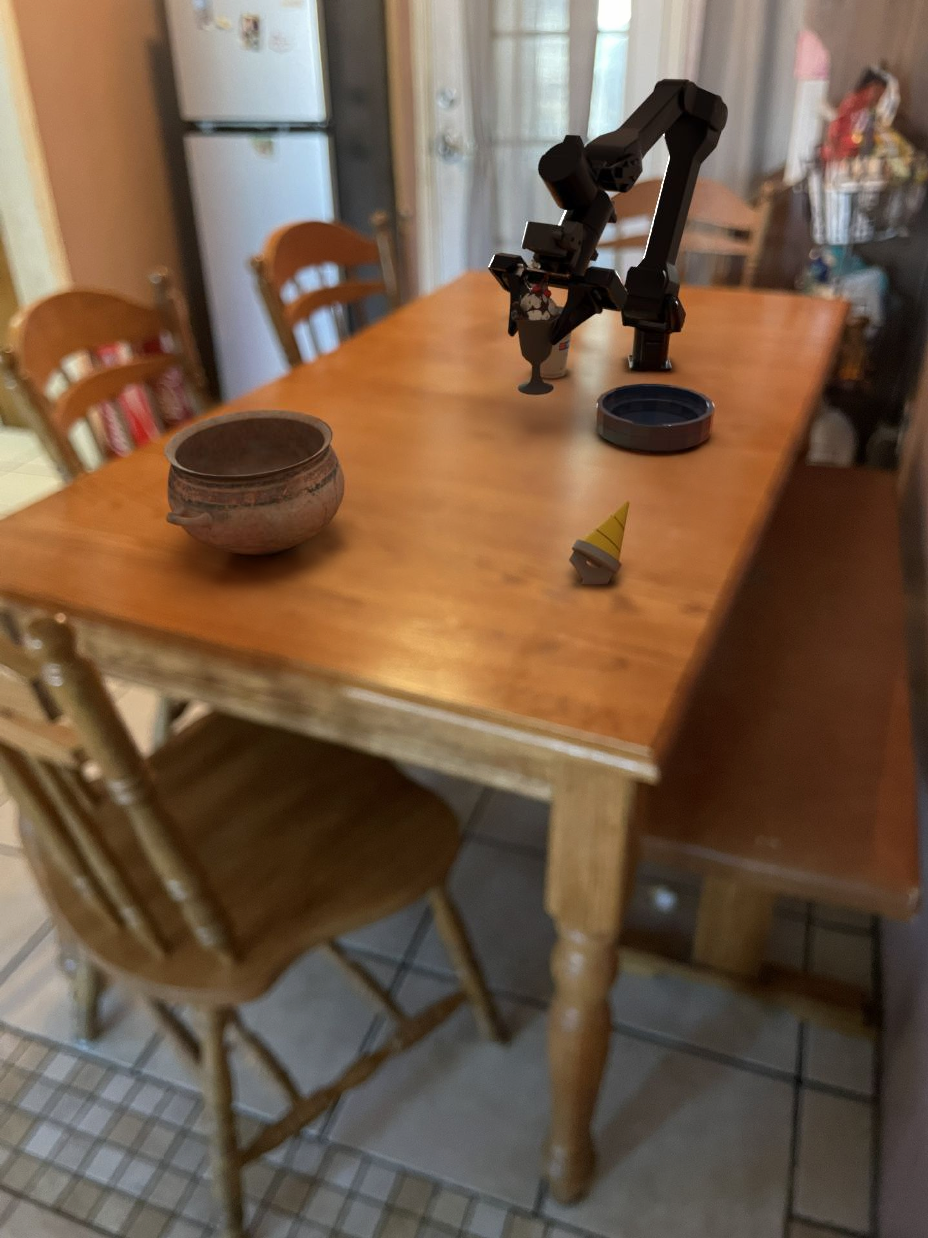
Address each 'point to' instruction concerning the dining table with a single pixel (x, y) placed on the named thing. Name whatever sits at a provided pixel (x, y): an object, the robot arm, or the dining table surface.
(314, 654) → the dining table surface
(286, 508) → the cooking pot
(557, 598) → the dining table surface
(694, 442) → the bowl
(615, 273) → the robot arm
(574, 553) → the drill bit
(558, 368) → the coffee cup
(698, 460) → the dining table surface
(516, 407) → the dining table surface
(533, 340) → the sundae
